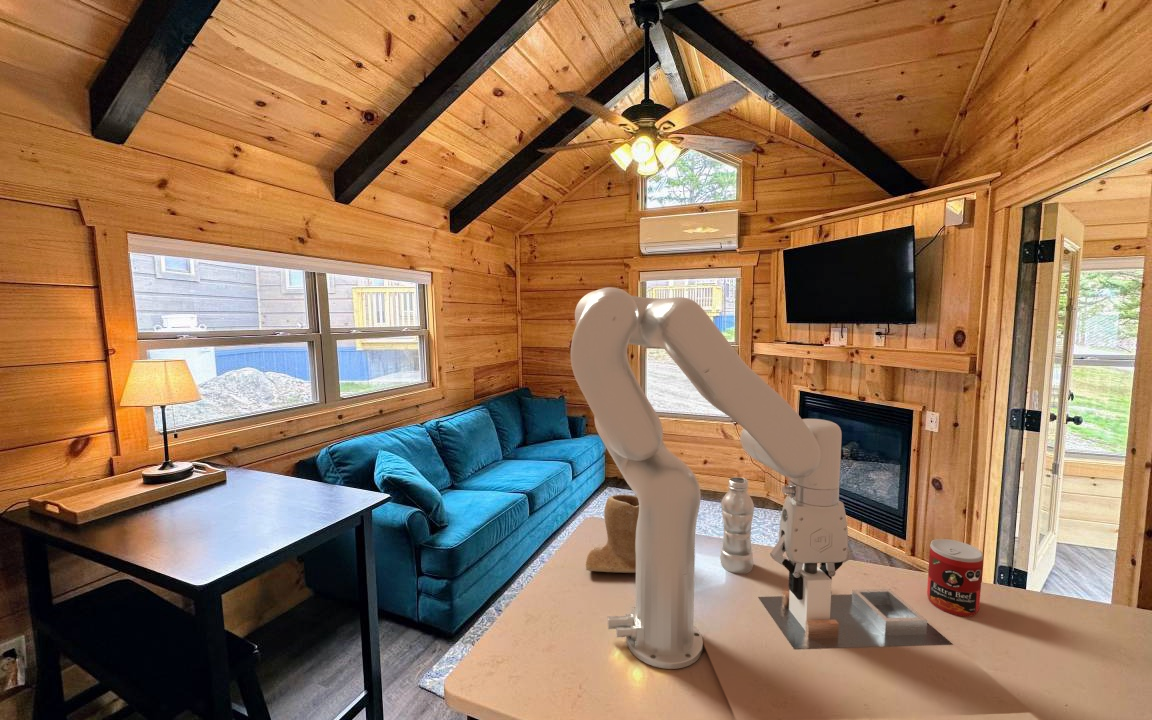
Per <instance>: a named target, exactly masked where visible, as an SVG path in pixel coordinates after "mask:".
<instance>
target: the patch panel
mask: <svg viewBox="0 0 1152 720" xmlns="http://www.w3.org/2000/svg"><path fill="white" fill-rule="evenodd" d="M789 593H790V590H782V591H781V596H778V595H777V596H775V595H774V596H757V598H758V599H759V601H760V602H761V604H762V605H763V607H764V608H765V609H766V612H767V613H768V614H769V615H770V617H771V618H772V620H773V621H774V623H775V624H776V626H777V627H778V628H779V630H780V631H781V633H782V634H783V636H784V637H785V638H786V640H787V641H788V643H789V644H790V645H791V647H792V649H793V650H811V649H812V650H814V649H815V650H817V649H818V650H821V649H847V648H848V649H851V648H854V649H856V648H880V647H881V648H882V647H884V648H887V647H888V648H889V647H916V646H944V645H945V646H951V645H954V643H952V642H951V641H950V640H949V639H948V638H946V637H945V636H944V635H943V634H942V633H940V632H939V631H938V630H937V629H936V628H935V627H934V626H932V625H931V624H930V623H928V620H927V619H926V618H925V617H924V616H923V615H921V613H919V612H918V611H917V610H915V609H914V608H913V607H912V606H911V605H910V604H908V603H907V602H906V601H905V600H904V599H902V598H901V597H900V596H899V595H898V594H897V593H896V592H894V591H893V590H892V589H890V588H875V589H873V588H871V589H865V588H863V589H852V592H851V593H852V594H831V606H830V620H806V626H805V630H804V628H803V627H802V626H801V625H800V623H799V622H798V621H797V619H796V618H795V617H794V615H793V614H792V613H791V612H790V610H789Z"/></svg>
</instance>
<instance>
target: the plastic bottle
mask: <svg viewBox="0 0 1152 720" xmlns="http://www.w3.org/2000/svg"><path fill="white" fill-rule="evenodd" d="M748 482H749V481H748V479H747V478H744V477H739V476H738V477H737V476H734V477H730V478H729V480H728V486H727V487H728V489H729V490H728V491H727V492H726V493H725V495H724V496H723V497H722V499H721V503H720V506H721V514H722V519H723V520H722V521H723V522H722V523H723V524H722V525H723V538H722V547H721V550H720V556H719V557H720V558H719V559H720V564H721V567H722V569H724V570H725V571H727V572H730V573H733V574H738V575H744V574H749V573H750V572H752V571H753V567H754V555H753V552H752V539H751V537H752V536H751V535H752V523H753V517H754V511H755V504H754V500H753V499H752V498H751V496H750V494H749V493H748V490H749V483H748Z"/></svg>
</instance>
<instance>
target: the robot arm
mask: <svg viewBox="0 0 1152 720" xmlns="http://www.w3.org/2000/svg"><path fill="white" fill-rule="evenodd" d="M574 320H575V327H574V328H575V329H574V331H573V333H572V334H573V335H572V339H571V345H570V365H571V368H572V372H573V373H572V374H573V376H574V379H575V381H576V383H577V385H578V387H579V389H580V391H581V393H582V395H583V397H584V398H585V401H586V403H587V404H588V406H589V409H590V410H591V413H592V414H593V416H594V419H593V420H594V427H595V429H596V431H597V434H598V435H599V437H600V439H601V441H602V443H603V445H604V446H605V448H606V450H607V451H608V453H609V455H610V456H611V459H612V460H613V461H614V464H615V465H616V467H617V469H618V470H619V472H620V473H621V475H622V477H623V478H624V481H625V482H626V483H627V485H628V486H629V488H630V489H631V490H632V491H631V492H633V493H634V495H635V496H636V497H637V498H638V501H639V515H638V520H637V526H636V539H635V552H636V573H635V590H634V591H635V593H634V594H635V601H634V602H635V604H634V605H635V606H631V607H630V608H631V613H625V616H623V615H622V616H619V615H611V616H610V615H608V616H607V619H606V620H607V630H616V631H615V634H616V638H625V640H626V641H625V642H626V645H627V648H628V649H629V651H630V652H631V654H633V656H634V657H635V658H637V659H638V660H640V661H641V662H643V663H645V664H647V665H650V666H652V667H654V668H659V669H665V670H667V669H668V670H673V669H674V670H677V669H682V668H685V667H688V666H691V665H692V664H694V663H696V662H697V661H698V660H699V659H700V658H701V655H702V654H703V649H704V642H703V640H704V639H703V637H702V634H701V632H700V631H699V629H698V628H697V627H696V626H695V624H694V622H695V621H694V619H695V618H694V617H695V567H696V566H695V565H696V564H695V563H696V562H695V561H696V559H695V558H696V555H695V553H696V552H695V550H696V549H695V548H696V547H695V546H696V530H697V522H698V521H697V520H698V516H699V510H700V508H701V507H700V506H701V496H702V493H701V488H700V483H699V481H698V478H697V477H696V475H695V473H694V472H693V471H692V469H691V468H690V467H689V466H688V465H687V464H686V463H685V462H684V461H682V460H681V459H680V458H679V457H678V456H676V455H675V454H674V453H673V452H672V451H670V450H669V449H668V447H667V446H666V444H665V442H664V441H663V438H664V430H663V425H662V421H661V419H660V417H659V415H658V413H657V412H656V410H655V409H654V407H653V405H652V404H651V402H650V401H649V399H648V397H647V395H646V394H645V392H644V390H643V388H642V387H641V385H640V383H639V381H638V380H637V377H636V375H635V373H634V371H633V369H632V367H631V364H630V362H629V359H628V358H629V357H628V347H629V345H633V346H644V347H656V348H662V349H663V350H665V352H666V353H667V354H668V356H669V357H670V358H671V360H672V361H673V362H674V363H675V364H676V365H677V367H678V368H679V369H680V370H681V371H682V373H683V374H684V375H685V377H686V378H687V379H688V380H689V381H690V383H691V384H692V386H694V388H695V389H696V390H697V392H698V393H699V394H700V395H701V396H702V397H703V398H704V399H705V400H706V401H707V402H709V403H710V404H711V405H712V407H715V408H716V409H717V410H719V411H720V412H722V413H723V414H724V415H726V416H727V417H729V418H730V419H732V420H733V421H734V422H736V423H737V424H738V425H739V426H740V427H741V428H742V430H741V434H740V444H741V446H742V449H743V451H745V452H746V454H747V455H748V456H750V457H751V458H752V459H754V460H756V461H757V462H759V463H761V464H762V465H764V466H767V468H770V469H771V470H773V471H775V472H776V473H778V474H779V475H782V476H783V477H787V478H789V480H788V485H786V486H784V485H783V486H782V488H781V491H782V494H783V495H788V496H786V497H785V499H784V503H783V505H782V510H781V515H780V521H779V529H778V541H777V542H776V544H775V546H774V547H773V549H772V550H771V551H770V553H769V556H770V557H771V558H772V560H773V561H775V562H777V563H778V564H780V565H781V566H783V567H784V568H785V569H786V570H787V571H788V589H789V591H791V592H792V593H793V594H794V595H795V596H796V598H797V599H798V600H802V597H803V578H802V577H801V571H802V566H803V563H817V564H819V568H820V569H821V570H822V571H823V572H824V573H825V574H826V575H827V576H828V577H829V578H830V579H831V580H833V577H835V576H836V573H837V570H839V569H840V568H841V567H842V565H843V564H845V563H846V562H847V561H849V560H851V559H852V558H853V557H854V556H853V553H852V552H851V550H850V548H849V533H848V530H849V529H848V521H847V515H846V509H845V504H844V502H843V501H841V500H840V479H841V478H840V477H841V476H840V475H841V458H842V437H843V436H842V430H841V427H840V426H839V424H837V423H835V422H833V421H831V420H826V419H821V418H802V417H801V416H800V415H799V413H798V412H797V411H796V410H795V409H794V408H793V407H792V406H791V405H790V403H789V402H787V400H786V399H785V398H784V397H783V396H781V395H780V393H778V392H777V391H776V390H775V389H773V388H772V386H770V385H769V384H768V383H767V382H766V381H765V380H764V379H763V378H762V377H761V376H760V375H759V374H757V373H756V372H755V371H754V370H753V369H752V368H750V367H749V365H747V364H746V362H745V361H744V359H742V357H740V355H739V353H737V351H736V350H735V348H734V347H733V346H732V344H731V343H730V342H729V341H728V340H727V338H726V337H725V336H724V334H723V333H722V332H721V330H720V329H719V328H718V327H717V325H716V324H715V323H714V322H713V320H712V319H711V317H710V316H709V315H708V314H707V312H706V311H705V310H704V308H703V307H702V306H701V305H700V304H699V303H697V301H695V300H693V299H690V298H688V297H668V298H658V297H657V298H653V297H645V296H644V297H643V296H636V295H631V294H630V293H628V292H627V291H626V290H624V289H621V288H619V287H609V286H608V287H602V288H599V289H597V290H593V291H590V292H588V293H587V294H585V295H584V296H582V298H581V299H580V300H579V301H578V303H577V304H576V307H575V310H574ZM784 553H785V555H786V556H784Z"/></svg>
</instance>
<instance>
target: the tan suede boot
mask: <svg viewBox="0 0 1152 720" xmlns="http://www.w3.org/2000/svg"><path fill="white" fill-rule="evenodd" d="M603 511H604V512H603V516H604V517H603V518H604V522H605V528H606V534H607V535H606V536H607V537H606V538H607V540H606V541H607V542H606V544H605V545H604V546H599V547H597V546H596V547H594V548H593V549H591V550H589V552H588V554H587V557H586V561H585V571H589V572H602V573H603V572H605V573H622V574H623V573H624V574H625V573H628V574H636V552H635V539H636V526H637V520H638V515H639V501H638V498H637V497H636V495H635V494H634V495H633V494H614V495H610V496H609V497H608V498H607V499H606V502H605V506H604V510H603Z"/></svg>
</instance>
